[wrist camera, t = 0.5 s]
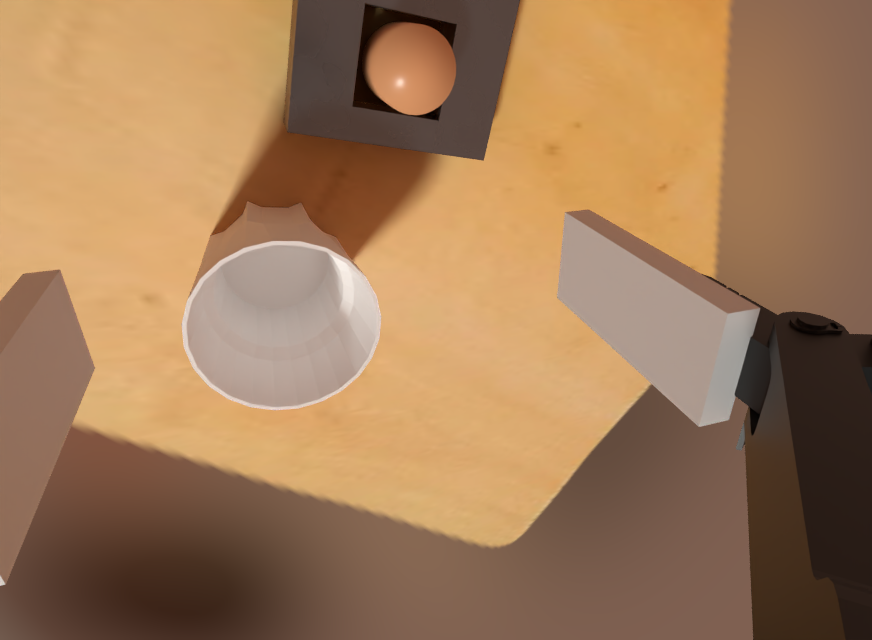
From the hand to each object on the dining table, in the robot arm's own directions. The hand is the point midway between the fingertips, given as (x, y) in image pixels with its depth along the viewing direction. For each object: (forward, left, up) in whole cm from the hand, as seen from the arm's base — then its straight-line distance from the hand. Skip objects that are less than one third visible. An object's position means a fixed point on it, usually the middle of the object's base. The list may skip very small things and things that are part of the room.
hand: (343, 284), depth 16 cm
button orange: (-1, +8, -21) cm, 22 cm away
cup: (+8, -4, -23) cm, 25 cm away
